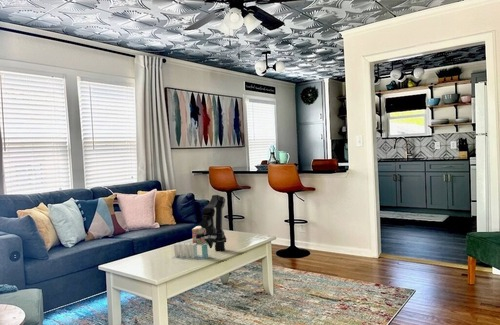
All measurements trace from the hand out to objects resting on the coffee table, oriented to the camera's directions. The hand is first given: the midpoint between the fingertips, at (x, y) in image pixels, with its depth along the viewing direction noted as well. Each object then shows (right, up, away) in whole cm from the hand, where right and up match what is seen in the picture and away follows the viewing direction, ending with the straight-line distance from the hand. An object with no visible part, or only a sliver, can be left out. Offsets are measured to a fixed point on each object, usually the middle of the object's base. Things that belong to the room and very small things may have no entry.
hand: (211, 248), depth 260 cm
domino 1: (-25, -8, +10) cm, 28 cm away
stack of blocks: (-14, -7, +57) cm, 59 cm away
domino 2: (-20, -8, +8) cm, 23 cm away
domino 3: (-16, -8, +7) cm, 19 cm away
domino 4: (-12, -7, +5) cm, 15 cm away
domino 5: (-4, -7, +2) cm, 8 cm away
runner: (-15, -8, +6) cm, 18 cm away
